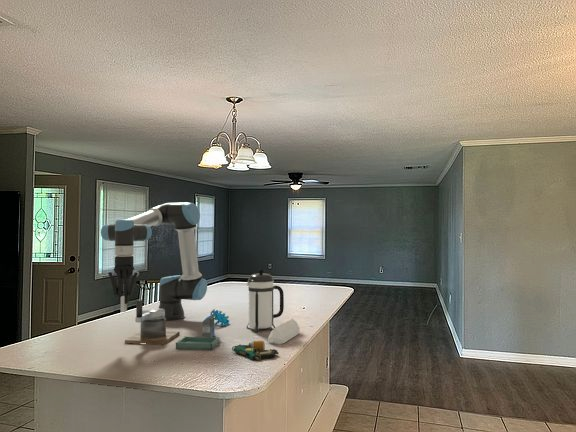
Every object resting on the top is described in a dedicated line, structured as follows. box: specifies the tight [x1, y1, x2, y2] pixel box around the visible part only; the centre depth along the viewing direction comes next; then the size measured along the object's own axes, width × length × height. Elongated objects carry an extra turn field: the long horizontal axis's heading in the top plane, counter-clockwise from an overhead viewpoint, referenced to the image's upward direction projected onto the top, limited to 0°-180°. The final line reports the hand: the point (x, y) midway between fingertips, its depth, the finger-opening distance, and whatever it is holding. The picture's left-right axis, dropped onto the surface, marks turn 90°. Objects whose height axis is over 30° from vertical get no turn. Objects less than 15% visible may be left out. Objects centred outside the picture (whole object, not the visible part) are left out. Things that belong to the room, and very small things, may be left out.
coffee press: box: [246, 268, 285, 333], centre depth 216 cm, size 17×16×30 cm
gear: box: [214, 309, 230, 327], centre depth 224 cm, size 11×6×10 cm
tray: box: [175, 336, 220, 351], centre depth 185 cm, size 11×16×2 cm
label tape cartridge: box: [202, 308, 216, 337], centre depth 200 cm, size 9×4×12 cm, turn 178°
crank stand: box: [124, 319, 181, 345], centre depth 197 cm, size 18×18×8 cm
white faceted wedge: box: [267, 318, 301, 345], centre depth 198 cm, size 7×7×24 cm
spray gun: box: [231, 340, 279, 362], centre depth 173 cm, size 4×17×15 cm
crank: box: [134, 299, 165, 323], centre depth 192 cm, size 20×10×11 cm, turn 173°
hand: (123, 311), depth 184 cm, fingers closed
